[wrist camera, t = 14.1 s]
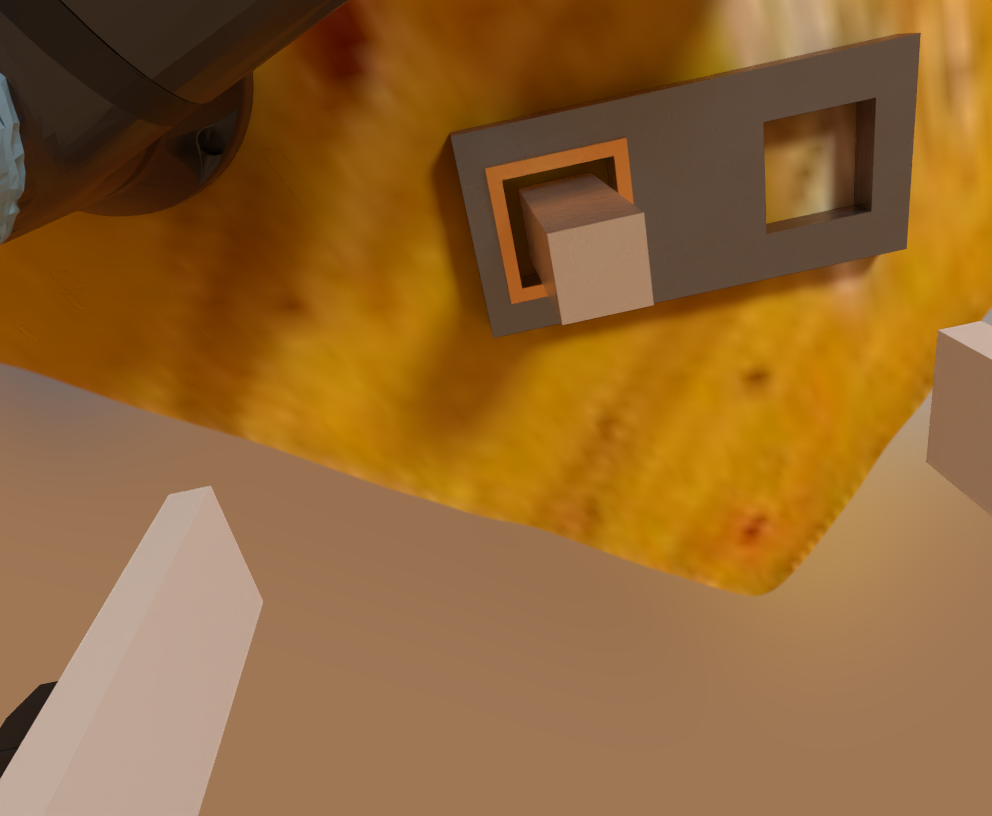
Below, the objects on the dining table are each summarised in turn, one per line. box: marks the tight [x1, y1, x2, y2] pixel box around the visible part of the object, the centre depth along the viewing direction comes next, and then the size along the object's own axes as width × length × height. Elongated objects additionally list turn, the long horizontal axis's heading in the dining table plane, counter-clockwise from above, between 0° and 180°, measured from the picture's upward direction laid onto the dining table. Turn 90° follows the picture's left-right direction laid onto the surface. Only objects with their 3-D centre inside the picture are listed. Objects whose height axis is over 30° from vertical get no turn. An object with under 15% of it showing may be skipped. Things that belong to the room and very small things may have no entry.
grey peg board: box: [450, 33, 920, 338], centre depth 42 cm, size 26×12×2 cm, turn 101°
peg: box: [518, 172, 654, 325], centre depth 38 cm, size 4×4×12 cm
